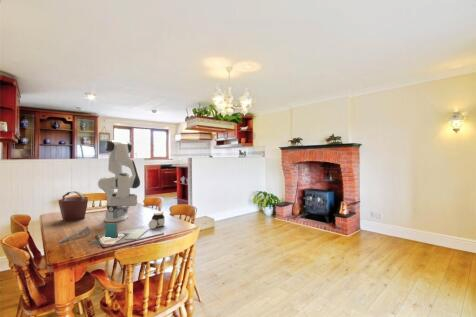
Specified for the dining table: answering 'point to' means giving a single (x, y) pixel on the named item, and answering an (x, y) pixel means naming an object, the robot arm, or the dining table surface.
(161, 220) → the spread jar
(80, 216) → the bucket
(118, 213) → the pusher bar
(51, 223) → the dining table surface
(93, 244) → the mat
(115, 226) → the tile
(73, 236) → the caliper
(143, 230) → the tool board
